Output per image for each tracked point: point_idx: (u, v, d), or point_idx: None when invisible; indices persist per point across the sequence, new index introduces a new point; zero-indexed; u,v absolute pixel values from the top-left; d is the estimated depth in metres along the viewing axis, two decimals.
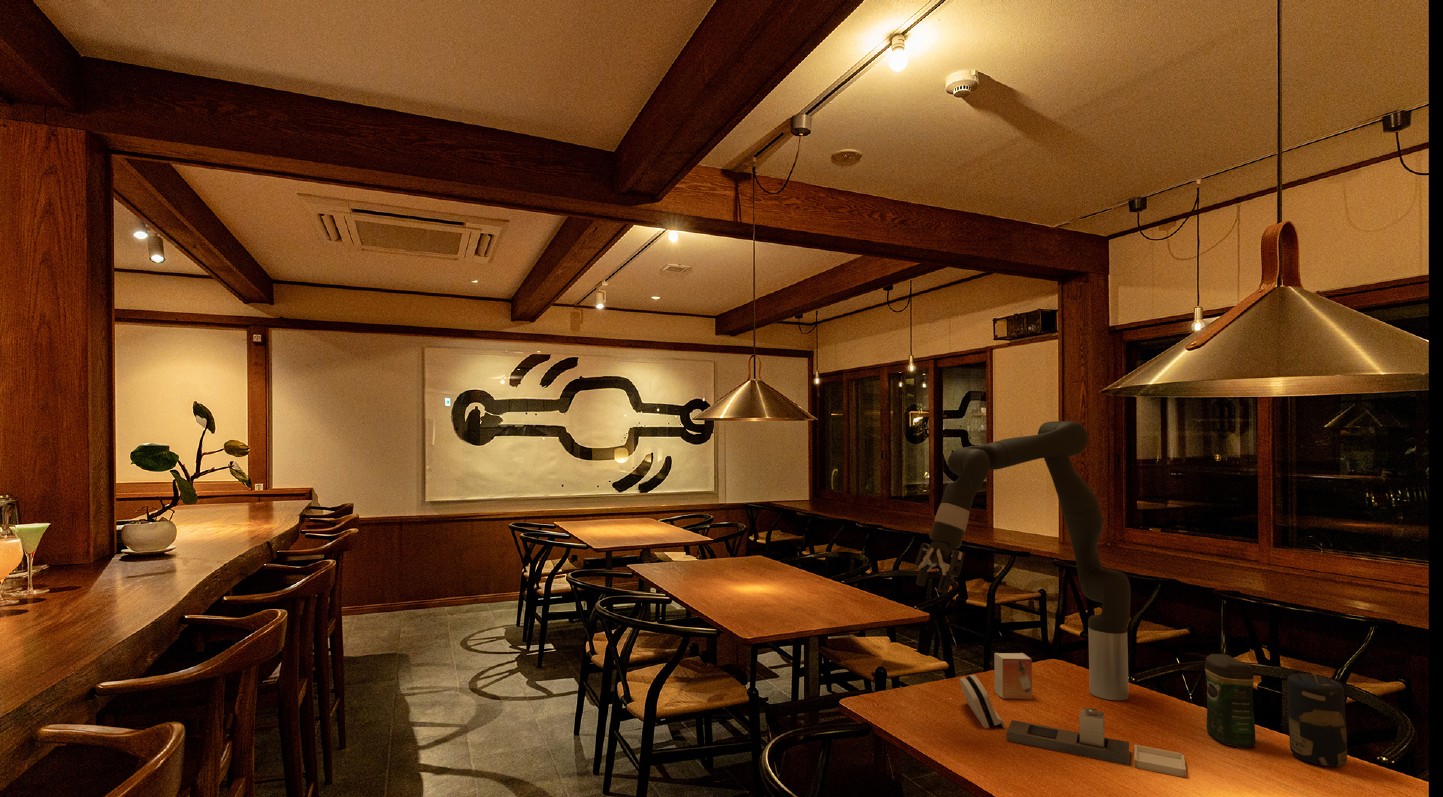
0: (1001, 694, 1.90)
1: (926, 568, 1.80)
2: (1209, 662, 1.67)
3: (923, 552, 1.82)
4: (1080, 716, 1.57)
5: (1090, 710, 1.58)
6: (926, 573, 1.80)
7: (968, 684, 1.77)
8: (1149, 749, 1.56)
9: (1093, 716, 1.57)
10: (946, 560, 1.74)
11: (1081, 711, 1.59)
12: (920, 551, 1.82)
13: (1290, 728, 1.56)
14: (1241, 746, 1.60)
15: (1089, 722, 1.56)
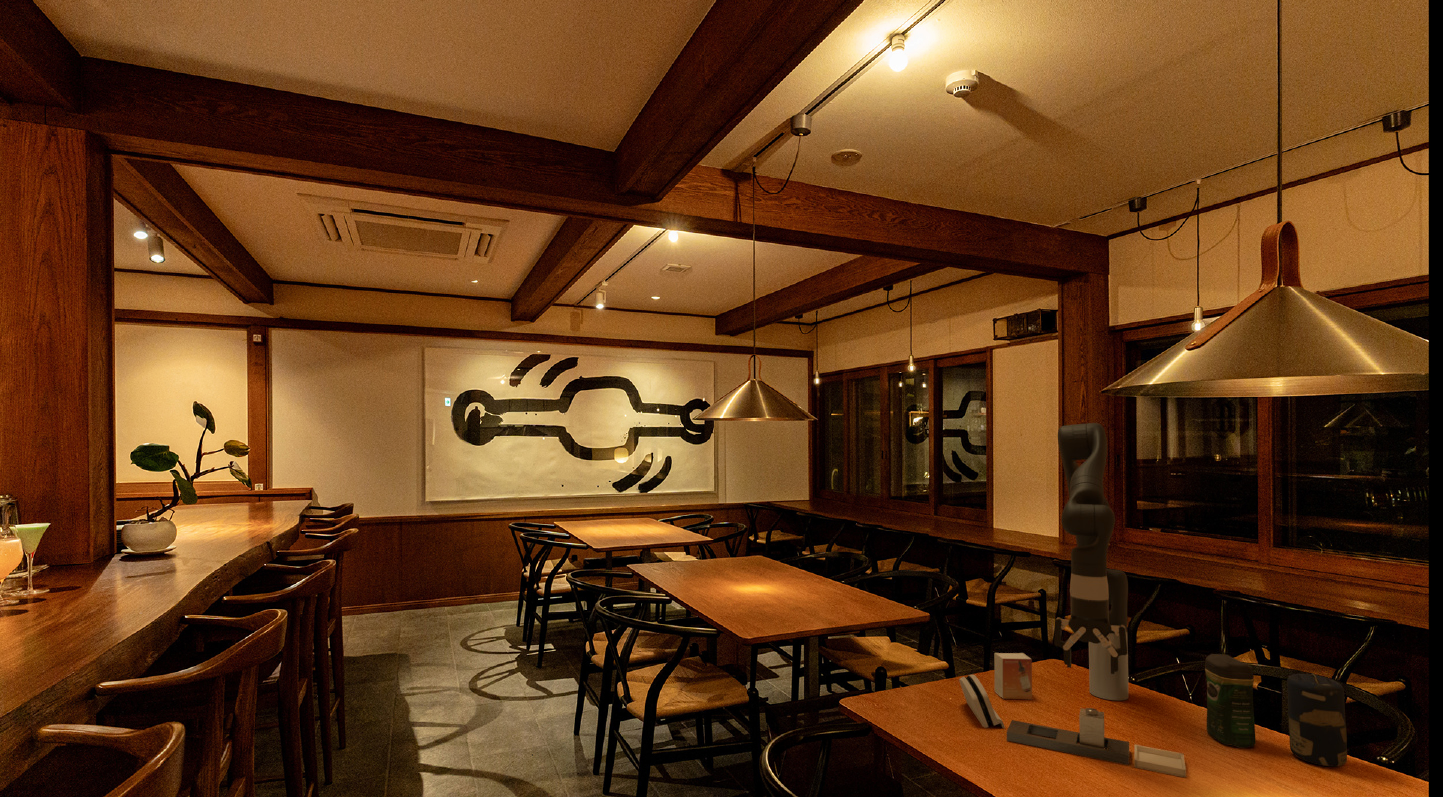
0: (1001, 694, 1.90)
1: None
2: (1209, 662, 1.67)
3: (1060, 629, 1.62)
4: (1080, 716, 1.57)
5: (1090, 710, 1.58)
6: (1070, 651, 1.61)
7: (968, 684, 1.77)
8: (1149, 749, 1.56)
9: (1093, 716, 1.57)
10: None
11: (1081, 711, 1.59)
12: (1057, 629, 1.62)
13: (1290, 728, 1.56)
14: (1241, 746, 1.60)
15: (1089, 722, 1.56)
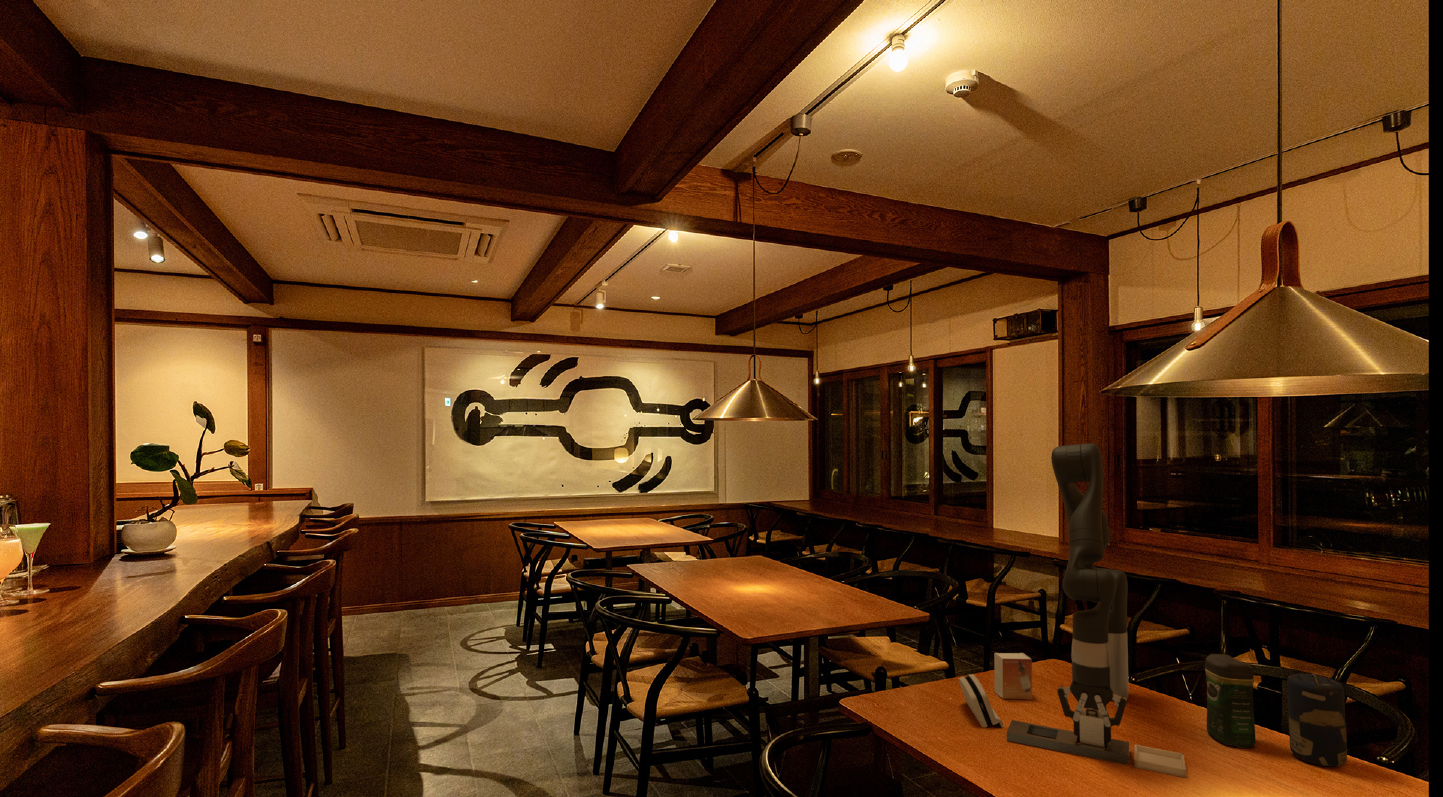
0: (1001, 694, 1.90)
1: None
2: (1209, 662, 1.67)
3: (1065, 699, 1.60)
4: (1080, 716, 1.57)
5: (1090, 710, 1.58)
6: None
7: (967, 683, 1.77)
8: (1149, 749, 1.56)
9: (1093, 716, 1.57)
10: None
11: None
12: (1062, 700, 1.60)
13: (1290, 728, 1.56)
14: (1241, 746, 1.60)
15: (1089, 722, 1.56)
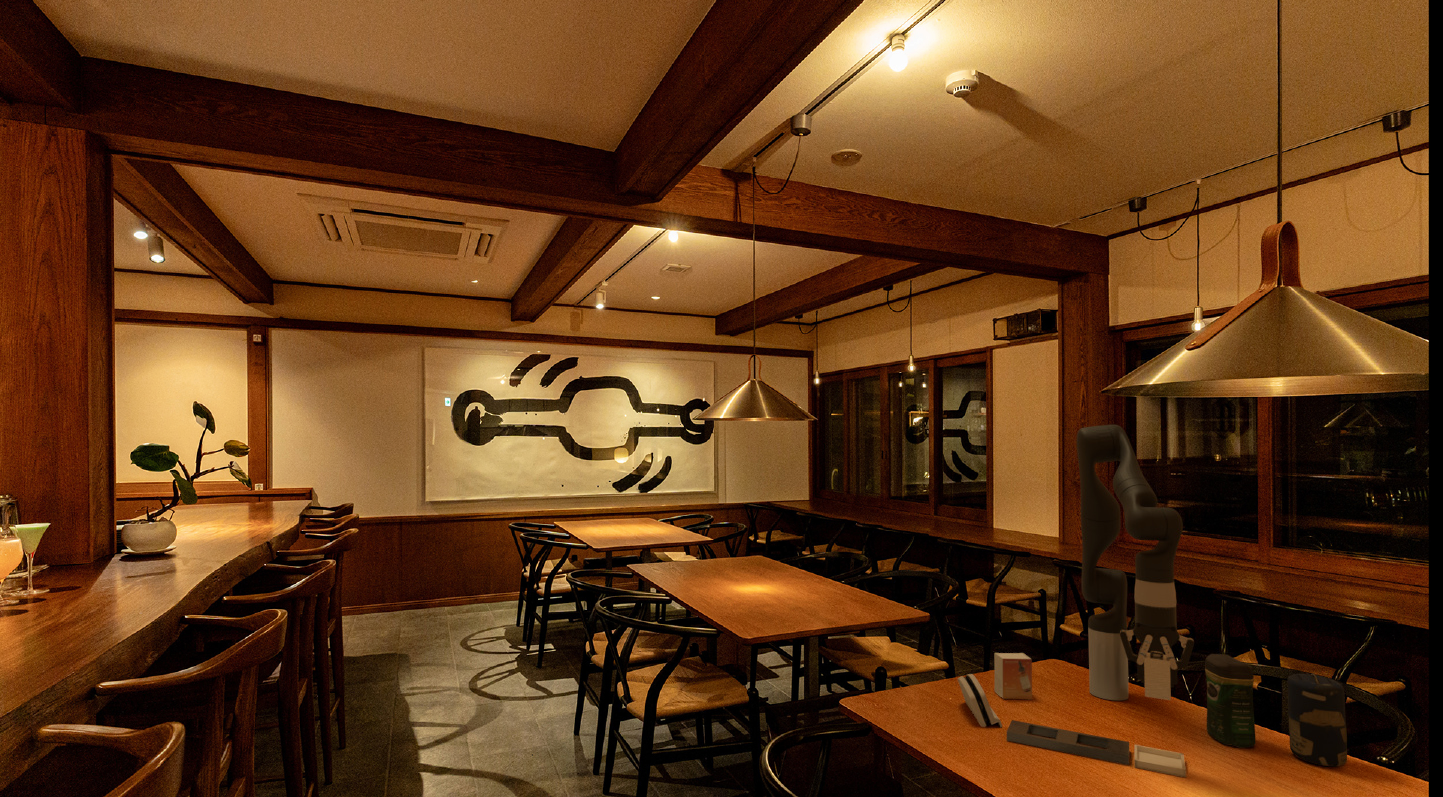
0: (1001, 694, 1.90)
1: None
2: (1209, 662, 1.67)
3: (1128, 642, 1.55)
4: (1145, 659, 1.52)
5: (1155, 653, 1.53)
6: None
7: (966, 683, 1.78)
8: (1149, 749, 1.56)
9: (1158, 659, 1.51)
10: None
11: None
12: (1125, 643, 1.55)
13: (1290, 728, 1.56)
14: (1241, 746, 1.60)
15: (1155, 665, 1.51)
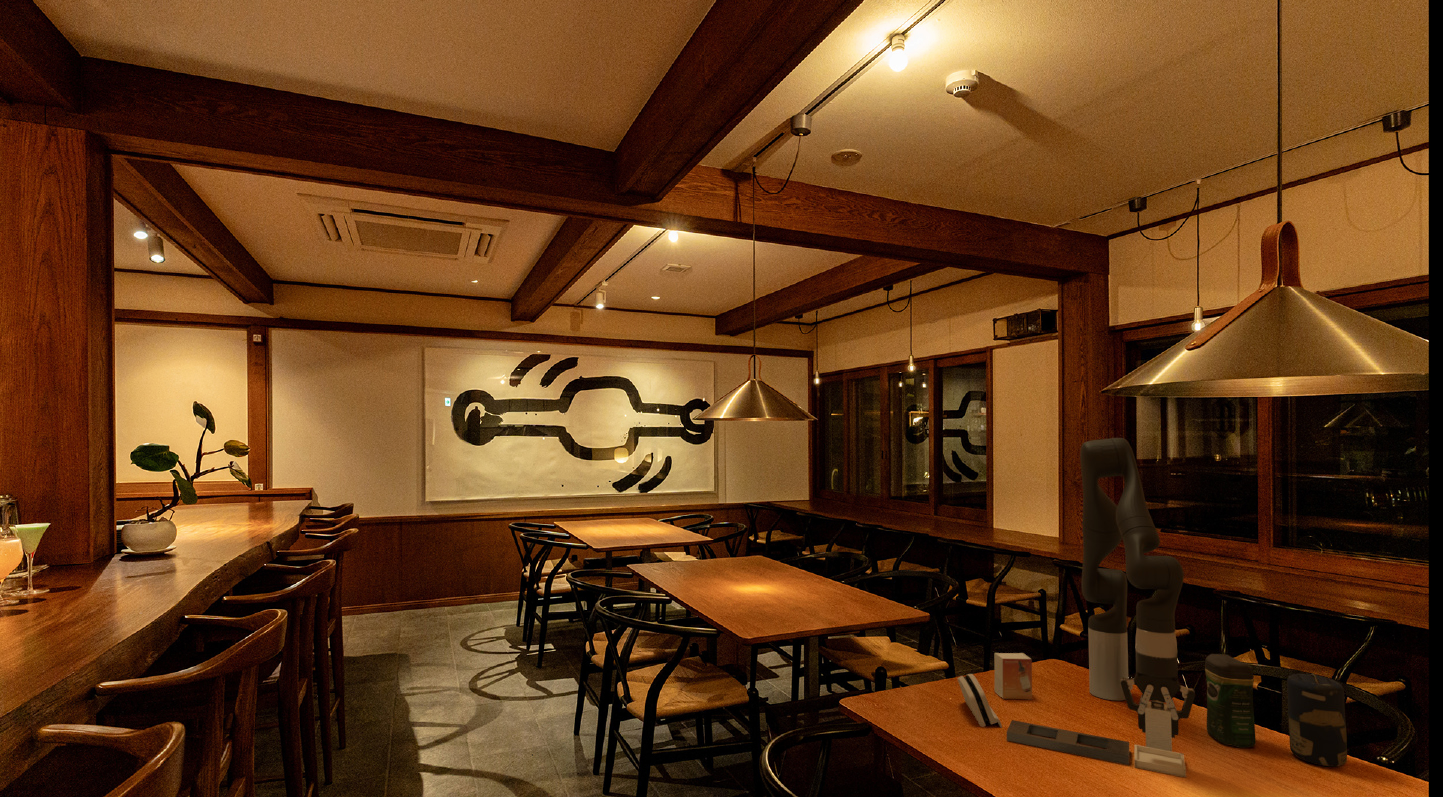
0: (1001, 694, 1.90)
1: None
2: (1209, 662, 1.67)
3: (1129, 691, 1.54)
4: (1146, 709, 1.51)
5: (1156, 703, 1.52)
6: None
7: (965, 683, 1.78)
8: (1149, 749, 1.56)
9: (1159, 709, 1.51)
10: None
11: None
12: (1126, 692, 1.54)
13: (1290, 728, 1.56)
14: (1241, 746, 1.60)
15: (1156, 715, 1.50)
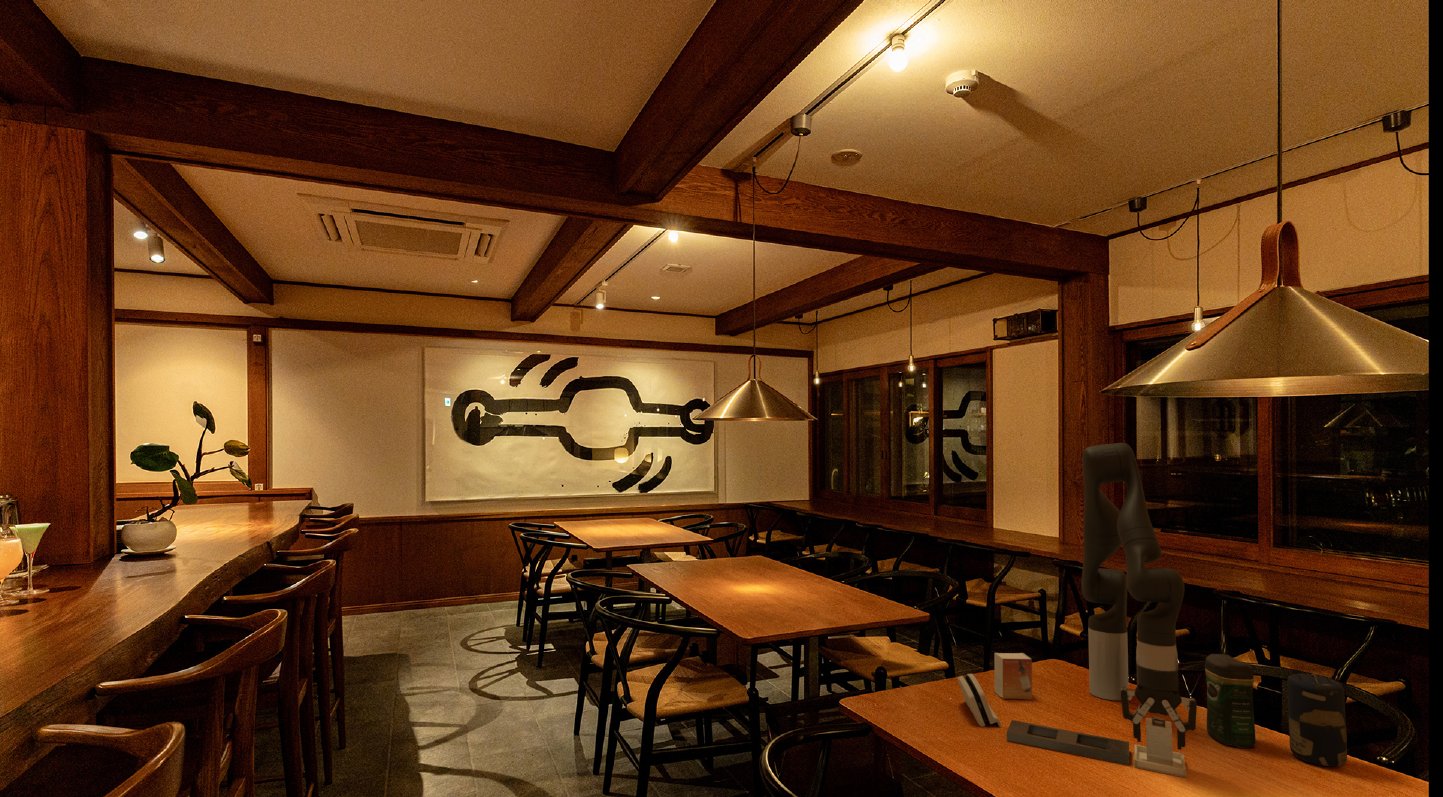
0: (1001, 694, 1.90)
1: None
2: (1209, 662, 1.67)
3: (1127, 701, 1.54)
4: (1147, 726, 1.51)
5: (1157, 720, 1.52)
6: (1140, 724, 1.54)
7: (965, 683, 1.78)
8: None
9: (1160, 726, 1.50)
10: None
11: (1147, 720, 1.53)
12: (1124, 701, 1.54)
13: (1290, 728, 1.56)
14: (1241, 746, 1.60)
15: (1157, 732, 1.50)
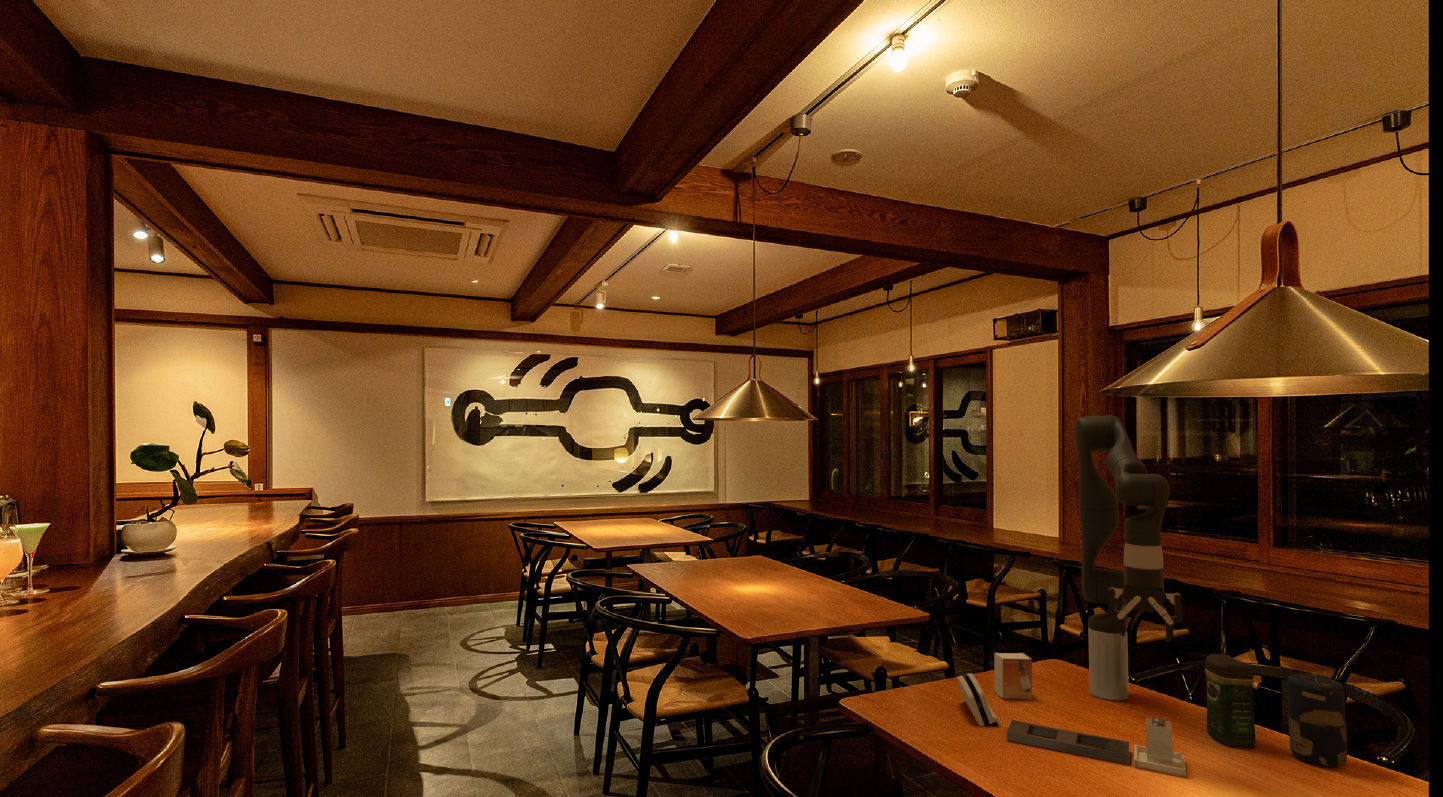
0: (1001, 694, 1.90)
1: None
2: (1209, 662, 1.67)
3: (1114, 599, 1.62)
4: (1147, 726, 1.51)
5: (1157, 720, 1.52)
6: None
7: (964, 682, 1.78)
8: None
9: (1160, 726, 1.50)
10: None
11: (1147, 720, 1.53)
12: (1111, 599, 1.62)
13: (1290, 728, 1.56)
14: (1241, 746, 1.60)
15: (1157, 732, 1.50)
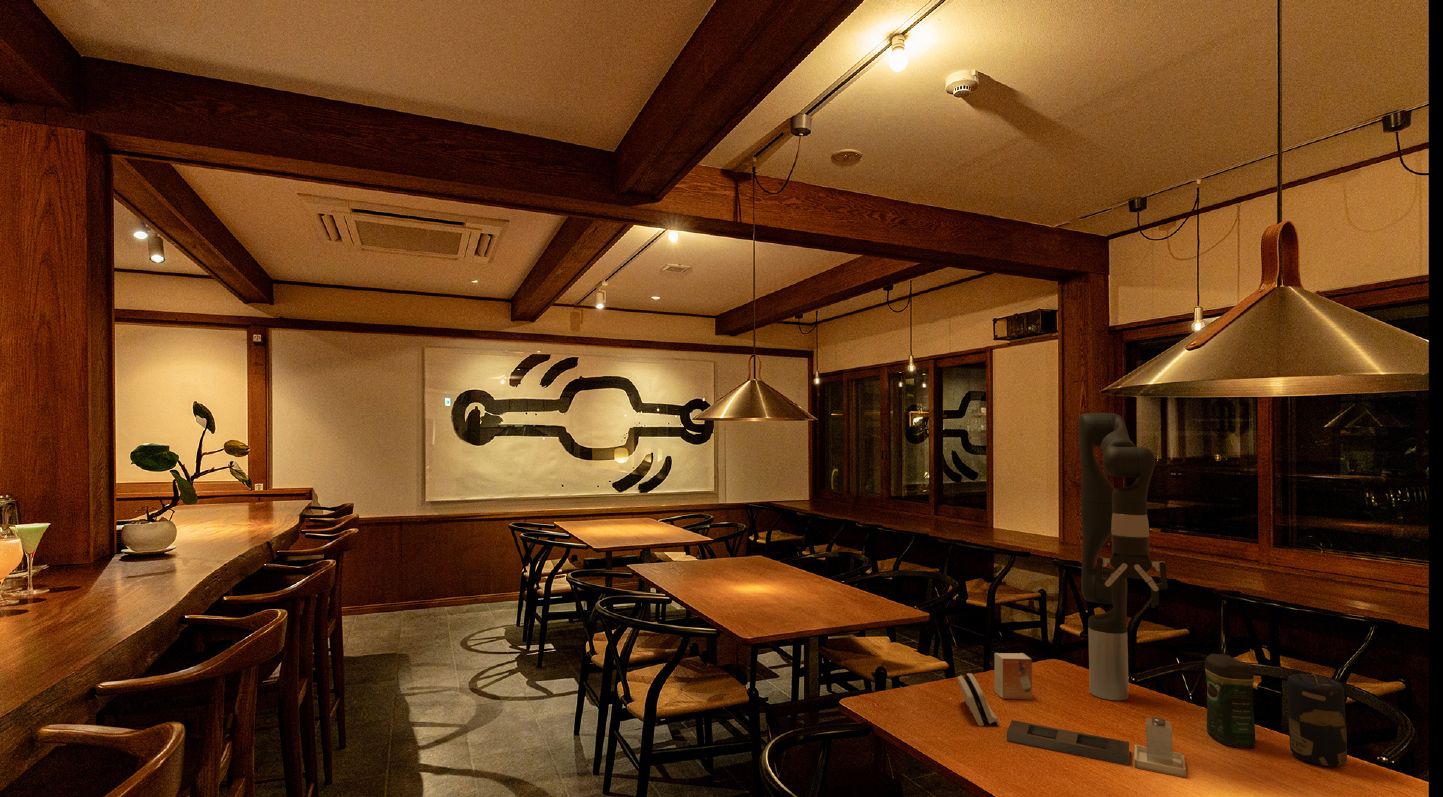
0: (1001, 694, 1.90)
1: None
2: (1209, 662, 1.67)
3: (1102, 567, 1.69)
4: (1147, 726, 1.51)
5: (1157, 720, 1.52)
6: (1112, 587, 1.69)
7: (964, 682, 1.78)
8: None
9: (1160, 726, 1.50)
10: None
11: (1147, 720, 1.53)
12: (1099, 567, 1.69)
13: (1290, 728, 1.56)
14: (1241, 746, 1.60)
15: (1157, 732, 1.50)
